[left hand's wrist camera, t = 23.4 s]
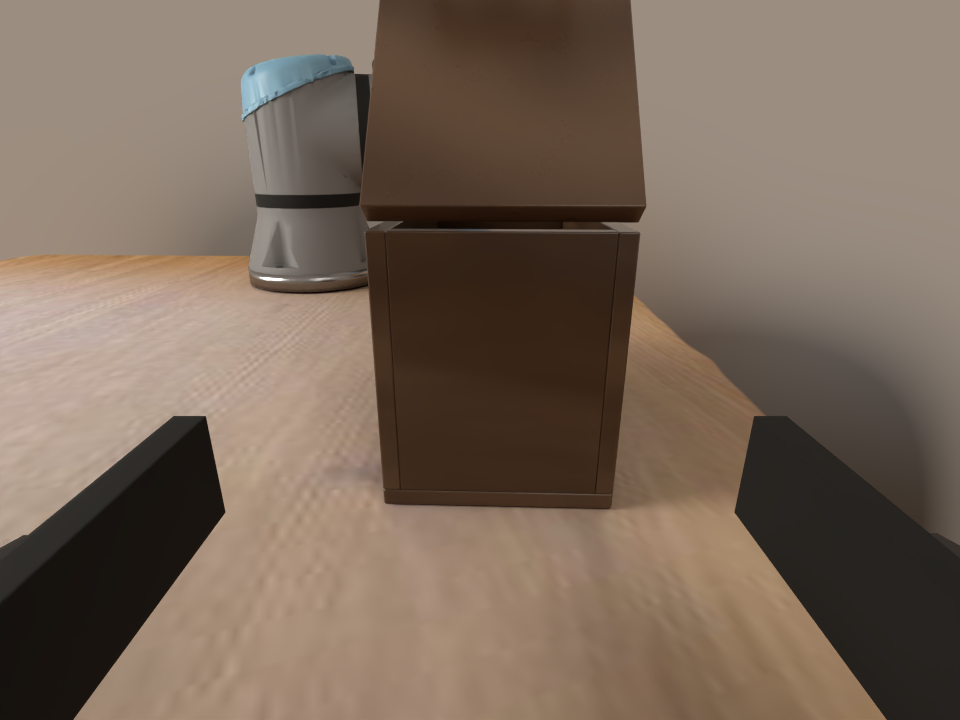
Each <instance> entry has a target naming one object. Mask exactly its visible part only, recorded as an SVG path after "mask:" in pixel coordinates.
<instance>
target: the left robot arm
mask: <svg viewBox="0 0 960 720" xmlns="http://www.w3.org/2000/svg"><path fill="white" fill-rule="evenodd" d="M224 514H225V508H224V503H223V498H222V493H221V488H220V483H219V478H218V474H217V469H216V464H215V459H214V454H213V449H212V444H211V439H210V435H209V430H208V425H207V420H206V416H173V417H172V418H171V419H170V420H168V421H167V422H166V423H165V424H164V425H162V426H161V427H160V428H159V429H157V430H156V431H155V432H154V433H153V434H151V435H150V436H149V437H148V438H146V439H145V440H144V441H143V442H142V443H140V444H139V445H138V446H137V447H135V448H134V449H133V450H132V451H131V452H129V453H128V454H127V455H126V456H124V457H123V458H122V459H121V460H120V461H118V462H117V463H116V464H115V465H113V466H112V467H111V468H110V469H109V470H107V471H106V472H105V473H104V474H102V475H101V476H100V477H99V478H98V479H96V480H95V481H94V482H93V483H91V484H90V485H89V486H88V487H87V488H85V489H84V490H83V491H82V492H80V493H79V494H78V495H77V496H76V497H74V498H73V499H72V500H71V501H69V502H68V503H67V504H66V505H65V506H63V507H62V508H61V509H60V510H58V511H57V512H56V513H55V514H54V515H52V516H51V517H50V518H49V519H47V520H46V521H45V522H44V523H43V524H41V525H40V526H39V527H38V528H36V529H35V530H34V531H33V532H32V533H30V534H29V535H23V536H21V537H19V538H18V539H16V540H14V541H12V542H10V543H8V544H7V545H5V546H3V547H1V548H0V720H73V719H74V718H75V717H76V715H77V714H78V712H79V711H80V710H81V708H82V707H83V706H84V704H85V703H86V702H87V700H88V699H89V697H90V696H91V695H92V693H93V692H94V691H95V689H96V688H97V687H98V685H99V684H100V682H101V681H102V680H103V678H104V677H105V676H106V674H107V673H108V672H109V670H110V669H111V667H112V666H113V665H114V663H115V662H116V661H117V659H118V658H119V657H120V655H121V654H122V653H123V651H124V650H125V648H126V647H127V646H128V644H129V643H130V642H131V640H132V639H133V638H134V636H135V635H136V633H137V632H138V631H139V629H140V628H141V627H142V625H143V624H144V623H145V621H146V620H147V618H148V617H149V616H150V614H151V613H152V612H153V610H154V609H155V608H156V606H157V605H158V603H159V602H160V601H161V599H162V598H163V597H164V595H165V594H166V593H167V591H168V590H169V589H170V587H171V586H172V584H173V583H174V582H175V580H176V579H177V578H178V576H179V575H180V574H181V572H182V571H183V569H184V568H185V567H186V565H187V564H188V563H189V561H190V560H191V559H192V557H193V556H194V554H195V553H196V552H197V550H198V549H199V548H200V546H201V545H202V544H203V542H204V541H205V539H206V538H207V537H208V535H209V534H210V533H211V531H212V530H213V529H214V527H215V526H216V524H217V523H218V522H219V520H220V519H221V518H222V516H223V515H224ZM735 514H736V515H737V516H738V518H739V519H740V520H741V522H742V523H743V524H744V526H745V527H746V529H747V530H748V531H749V533H750V534H751V535H752V537H753V538H754V539H755V541H756V542H757V544H758V545H759V546H760V548H761V549H762V550H763V552H764V553H765V554H766V556H767V557H768V559H769V560H770V561H771V563H772V564H773V565H774V567H775V568H776V569H777V571H778V572H779V574H780V575H781V576H782V578H783V579H784V580H785V582H786V583H787V584H788V586H789V587H790V589H791V590H792V591H793V593H794V594H795V595H796V597H797V598H798V599H799V601H800V602H801V603H802V605H803V606H804V608H805V609H806V610H807V612H808V613H809V614H810V616H811V617H812V618H813V620H814V621H815V623H816V624H817V625H818V627H819V628H820V629H821V631H822V632H823V633H824V635H825V636H826V638H827V639H828V640H829V642H830V643H831V644H832V646H833V647H834V648H835V650H836V651H837V653H838V654H839V655H840V657H841V658H842V659H843V661H844V662H845V663H846V665H847V666H848V667H849V669H850V670H851V672H852V673H853V674H854V676H855V677H856V678H857V680H858V681H859V682H860V684H861V685H862V687H863V688H864V689H865V691H866V692H867V693H868V695H869V696H870V697H871V699H872V700H873V702H874V703H875V704H876V706H877V707H878V708H879V710H880V711H881V712H882V714H883V715H884V717H885V718H886V719H887V720H960V546H959V545H958V544H956V543H954V542H952V541H950V540H948V539H946V538H945V537H943V536H941V535H939V534H937V533H935V534H934V533H932V534H930V533H928V532H927V531H926V530H925V529H924V528H922V527H921V526H920V525H919V524H917V523H916V522H915V521H914V520H913V519H911V518H910V517H909V516H908V515H906V514H905V513H904V512H903V511H902V510H900V509H899V508H898V507H897V506H895V505H894V504H893V503H892V502H891V501H889V500H888V499H887V498H886V497H884V496H883V495H882V494H881V493H880V492H878V491H877V490H876V489H875V488H873V487H872V486H871V485H870V484H869V483H867V482H866V481H865V480H864V479H862V478H861V477H860V476H859V475H858V474H856V473H855V472H854V471H853V470H851V469H850V468H849V467H848V466H847V465H845V464H844V463H843V462H842V461H840V460H839V459H838V458H837V457H836V456H834V455H833V454H832V453H831V452H829V451H828V450H827V449H826V448H825V447H823V446H822V445H821V444H820V443H818V442H817V441H816V440H815V439H814V438H812V437H811V436H810V435H809V434H807V433H806V432H805V431H804V430H802V429H801V428H800V427H799V426H798V425H796V424H795V423H794V422H793V421H792V420H790V419H789V418H788V417H787V416H754V420H753V425H752V430H751V435H750V439H749V444H748V449H747V454H746V459H745V464H744V469H743V474H742V478H741V483H740V488H739V493H738V498H737V503H736V508H735Z"/></svg>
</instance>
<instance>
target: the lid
mask: <svg viewBox="0 0 960 720" xmlns="http://www.w3.org/2000/svg"><path fill="white" fill-rule="evenodd" d="M360 208H361V210H362V212H363V214H364V217H365V219H366V221H435V222H639V220H640V218H641V216H642V214H643V212H644V210H645V208H646V196H645V183H644V170H643V157H642V144H641V131H640V118H639V105H638V92H637V79H636V66H635V52H634V40H633V26H632V13H631V1H630V0H380V2H379V12H378V22H377V32H376V43H375V53H374V63H373V73H372V83H371V93H370V103H369V114H368V124H367V134H366V144H365V154H364V164H363V174H362V185H361V195H360Z"/></svg>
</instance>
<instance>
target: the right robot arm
mask: <svg viewBox="0 0 960 720" xmlns="http://www.w3.org/2000/svg"><path fill="white" fill-rule="evenodd" d="M373 63H374V56H373V59H372V68H373ZM371 83H372V74H354V67H353V66H352V64H351V62H350V60H349V59H348V58H346V57H343V56H338V55H330V56H326V55H301V56H291V57H284V58H278V59H273V60H269V61H265V62H262V63H259V64H256V65H254V66H252V67H250V68H249V69H248V70H247V71H246V72H245V73H244V75H243V77H242V80H241V93H242V105H243V114H242V120H243V122H245V129H246V136H247V143H248V150H249V156H250V163H251V170H252V177H253V183H254V190H255V197H256V204H257V212H258V218H257V224H256V229H255V234H254V240H253V245H252V251H251V256H250V261H249V266H248V269H249V276H250V282H251V284H252V285H253V286H255V287H257V288H260V289H264V290H270V291H280V292H320V291H332V290H341V289H348V288H354V287H359V286H363V285H367V284H368V274H367V261H366V247H365V234H364V232H365V231H366V230H368V229H369V227H368V224H367V222H366V219H365V217H364V214H363V212H362V210H361V208H360V195H361V185H362V174H363V164H364V154H365V144H366V134H367V124H368V114H369V103H370V93H371Z"/></svg>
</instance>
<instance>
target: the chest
mask: <svg viewBox="0 0 960 720" xmlns="http://www.w3.org/2000/svg"><path fill="white" fill-rule="evenodd" d="M364 234H365V247H366V261H367V274H368V287H369V301H370V314H371V328H372V341H373V355H374V368H375V382H376V395H377V408H378V422H379V435H380V449H381V462H382V476H383V488H384V501H385V503H392V504H437V505H481V506H526V507H570V508H611V503H612V493H613V486H614V476H615V467H616V458H617V448H618V439H619V429H620V420H621V410H622V401H623V392H624V382H625V373H626V363H627V354H628V345H629V335H630V326H631V316H632V307H633V297H634V288H635V279H636V269H637V260H638V250H639V241H640V233H639V232H638V231H635V230H633V229H631V228H629V227H627V226H625V225H623V224H621V223H619V222H435V221H385V222H383V223H381V224H379V225H377V226H374V227H372V228H370V229H368V230H366V231H365V232H364Z"/></svg>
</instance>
